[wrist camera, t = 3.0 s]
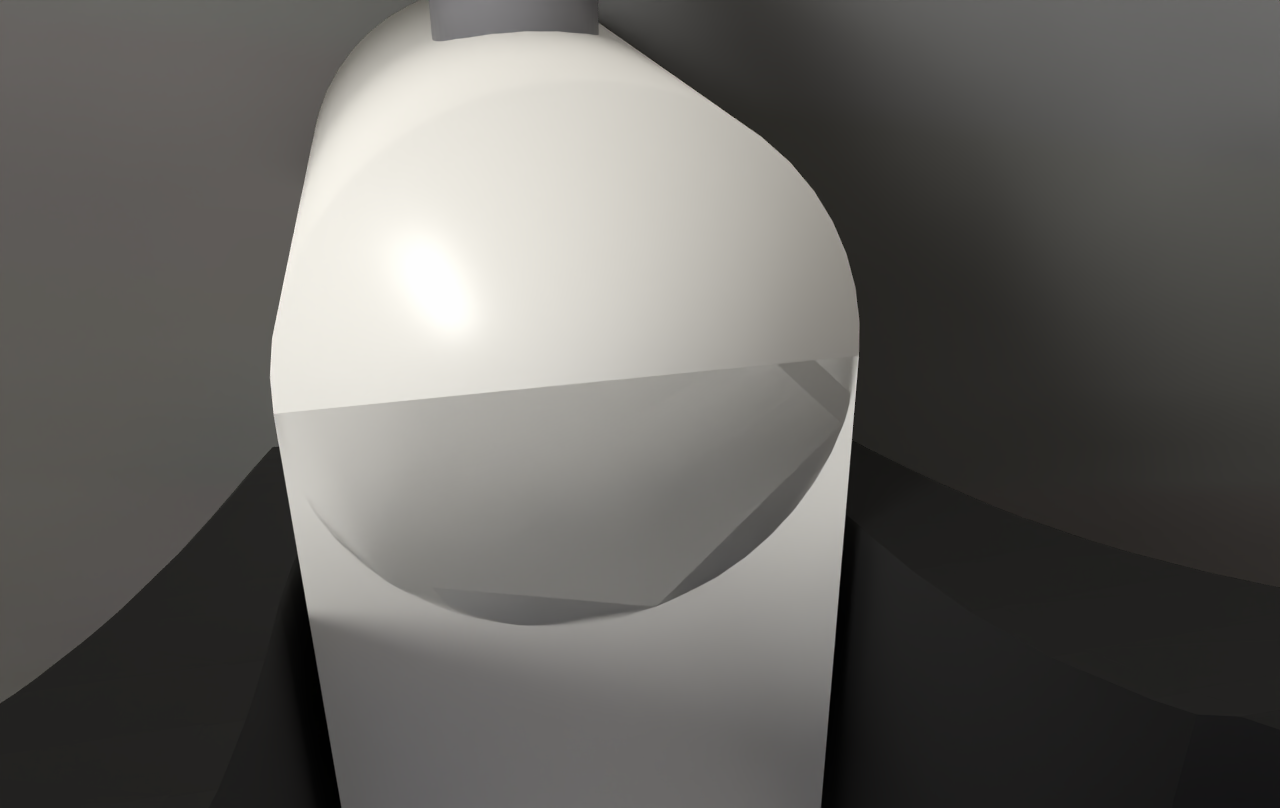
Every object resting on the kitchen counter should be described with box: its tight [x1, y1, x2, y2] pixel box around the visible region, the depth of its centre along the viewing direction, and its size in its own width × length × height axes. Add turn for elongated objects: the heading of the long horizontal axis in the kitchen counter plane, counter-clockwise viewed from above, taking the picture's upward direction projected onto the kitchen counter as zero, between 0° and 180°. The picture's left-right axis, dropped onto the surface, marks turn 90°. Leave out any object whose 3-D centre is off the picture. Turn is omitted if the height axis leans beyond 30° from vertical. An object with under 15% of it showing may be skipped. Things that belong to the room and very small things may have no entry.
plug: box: [270, 0, 859, 808], centre depth 10 cm, size 13×4×5 cm, turn 1°
